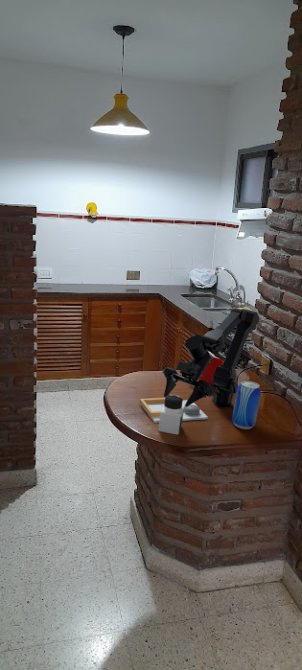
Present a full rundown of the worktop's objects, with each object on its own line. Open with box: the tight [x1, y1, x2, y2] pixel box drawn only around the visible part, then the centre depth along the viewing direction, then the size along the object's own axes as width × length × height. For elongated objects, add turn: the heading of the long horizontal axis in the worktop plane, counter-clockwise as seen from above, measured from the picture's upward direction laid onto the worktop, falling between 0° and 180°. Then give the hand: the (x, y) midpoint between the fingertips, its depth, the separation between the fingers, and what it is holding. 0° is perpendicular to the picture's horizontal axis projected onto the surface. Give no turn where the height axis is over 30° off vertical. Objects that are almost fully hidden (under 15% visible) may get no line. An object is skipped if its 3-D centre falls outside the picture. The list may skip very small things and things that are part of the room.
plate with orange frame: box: [139, 397, 209, 424], centre depth 183 cm, size 22×15×2 cm
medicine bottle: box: [158, 394, 184, 435], centre depth 168 cm, size 7×7×12 cm
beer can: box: [231, 380, 262, 430], centre depth 177 cm, size 8×8×16 cm
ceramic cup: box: [198, 356, 225, 386], centre depth 215 cm, size 13×17×10 cm
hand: (174, 401), depth 168 cm, fingers open, 9 cm apart
